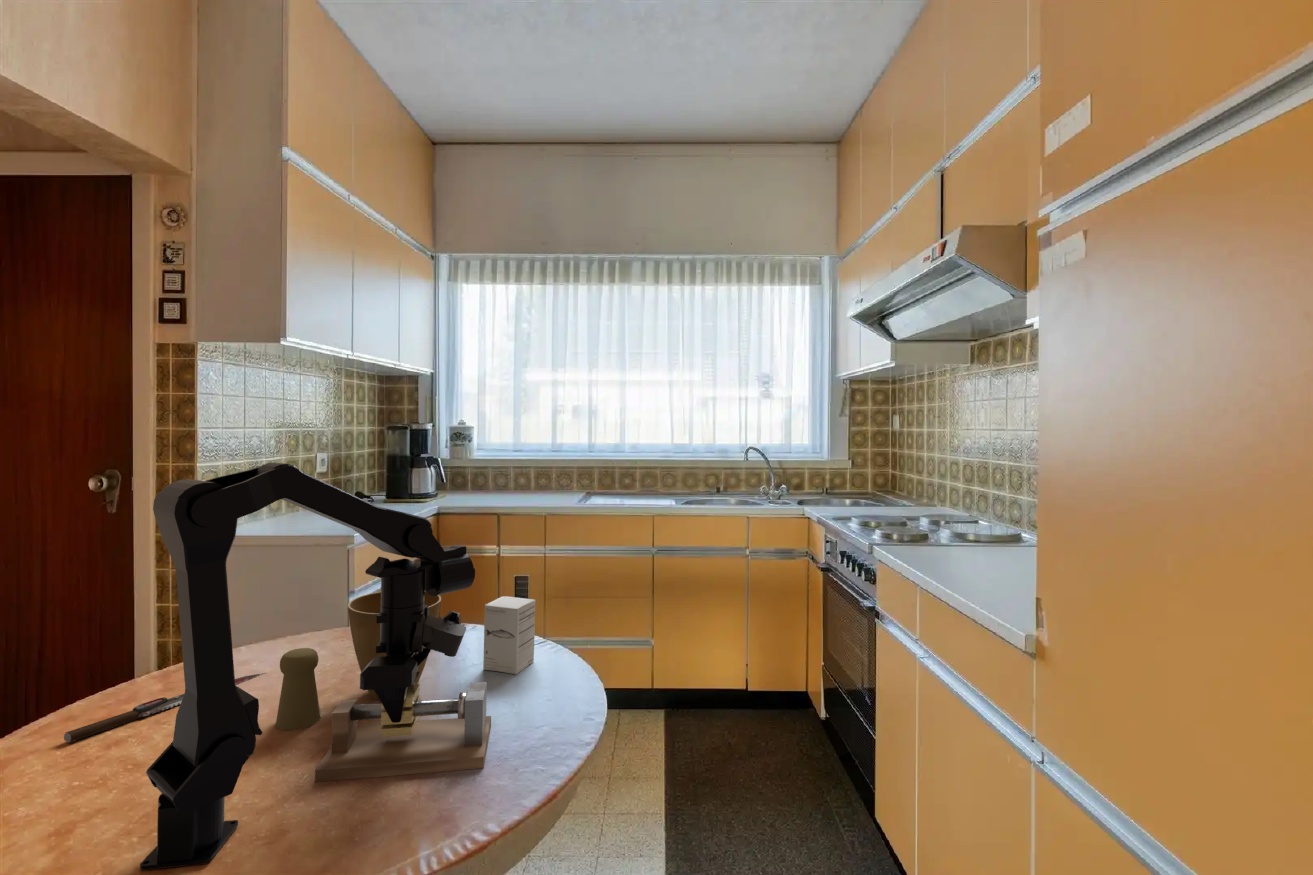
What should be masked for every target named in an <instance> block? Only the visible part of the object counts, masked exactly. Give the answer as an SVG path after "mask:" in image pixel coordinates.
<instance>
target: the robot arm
mask: <svg viewBox="0 0 1313 875" xmlns="http://www.w3.org/2000/svg"><path fill="white" fill-rule="evenodd" d="M280 500H281V501H282V500H283V501H284V502H286V503H290V504H291V505H294V506H297V507H299V508H301V509H304V510H305V511H309V512H311V513H313V514H316V515H319V516H320V517H323V518H325V519H328V520H331V521H333V522H336V523H337V524H340V525H342V526H345V527H347V528H350V529H352V530H353V531H355V532H356V533H358V534H359V535H360V536H361V537H362V538H363V539H364V540H365V541H367V542H368V543H369V544H371V545H373V546H374V547H375V548H377V549H379V550H380V551H381V552H386V553H389V554H393V555H397V556H402V557H405V558H400V559H399V558H398V559H393V560H390V559H389V558H388V557H383V556H378V557H377V558H376V560H375V561H374V562H373V563H371V565H370V566H368V567H367V568H366V569H365V571H364V573H365V575H369V576H372V577H375V578H380V592H381V612H380V613H379V614H378V615H377V622H376V623H380V642H379V643H378V644H377V645H376V653H386V656H385V657H375V658H374V659H373V660H372V661H371V662H370V663H368V665H367V666H366V667H365V669H364V670H363V671H362V672H361V671H360V674H359V689H360V690H362V691H368V690H374V691H375V693H376V694H377V696H378V697H379V699H380V700H379V701H380V703H382V705H383V706H384V708H385V710H386V712H387V714H388V716H389V718H390V720H391V721H392V722H393V723H398V722H400V721H401V718H402V713H403V708H404V703H405V698H406V693H407V688H408V687H409V686H412V684H414V683H415V680H416V678H417V676H418V674H419V672H417V671H418V667H419V665H420V664H421V663H422V662H423V661H424V660H425V659H426V658H427V659H428V657H429V655H430V652H431V651H435V652H438V653H442V654H444V656H447V657H449V658H454V657H456V656H457V654H458V651H459V649H460V646H461V644H462V641H463V638H464V636H465V633H466V631H467V627H466V624H465V623H462V621H461V620H462V618H461V612H457V611H454V610H450V611H449V612H448V613H446V615H444V616H443V617H442V616H440V615H438V618H436V617H432V616H429V607H427V605H424V600H425V591H426V592H427V593H428V594H429V595H431V596H437V595H439V596H441V595H445V594H448V593H449V594H450V593H453V592H458V591H461V590H467V589H468V588H471V586H472V585H473V584H474V582H475V581H474V580H475V578H476V568H475V567H474V564H473V561H472V559H471V557H470V556H469V554H468V553H467V546H465V545H461V544H454V545H451V546H449V547H444V548H443V547H442V546H441V543H440V542H439V541H438V540H437V538H436V537H435V535H434V534H433V533H434V532H433V528H432V523H431V521H430V520H428V519H427V518H425V517H423V516H419V515H416V514H411V513H407V512H403V511H399V510H394V509H391V508H385V507H381V506H378V505H375V504H373V503H372V502H369V501H367V500H365V499H362V498H360V497H358V496H356V495H353V494H352V493H349V492H347V491H345V490H343V489H341V488H339V487H337V486H335V485H333V484H330V483H328V482H326V481H323V480H321V479H319V478H317V477H314V476H313V475H310V474H308V473H306V472H304V471H302V470H301V469H299V467H297V466H296V465H293V464H289V463H284V462H282V463H281V462H267V463H265V464H262V465H261V466H257V467H253V468H251V469H247V470H242V471H238V472H233V473H230V474H225V475H221V476H217V477H213V478H210V479H207V480H199V479H186V478H185V479H184V478H183V479H181V480H180V479H179V480H175V481H173V482H171V483H170V484H167V485H165V486H164V488H162V489H161V490H160V491H159V493H157V494H156V495H155V497H154V500H153V507H152V511H153V515H154V518H155V521H156V524H157V528H158V531H159V533H160V536H161V539H162V542H163V544H164V545H165V548H166V550H167V551H168V554H169V556H170V558H171V559H172V562H173V564H174V568H175V577H176V591H177V603H178V613H179V614H178V616H179V625H180V629H179V630H180V640H181V653H182V664H183V679H184V693H183V694H184V697H183V699H182V702H181V704H179V708H178V710H177V713H176V717H175V724H174V731H173V738H172V741H171V742H170V743H169V744H168V746H167V747H166V748H165V749H164V750H163V751H162V753H160V755H159V756H158V757H157V758H156V759H155V760H154V762H152V763H151V765H150V766H149V767H148V768H147V769H146V772H145V773H146V775H147V778H148V779H149V781H150V783H151V784H152V786H153V787H154V788H156V789H157V790H158V791H159V792H160V795H159V797H158V802H157V826H156V827H157V830H156V831H157V833H156V834H157V835H156V838H157V842H156V846H155V847H154V848H153V849H152V851H150V853H149V854H148V855H146V857H145V858H144V859H143V860H142V861H141V862H140V863H139V870H141V871H146V870H155V869H156V870H157V869H165V868H173V867H174V868H176V867H184V866H194V865H204V864H207V863H209V862H211V861H212V860H213V859H214V858H215V856H216V855H217V853H218V852H219V850H221V848H222V847H223V845H225V843H226V842H227V840H228V839H229V838H230V837H231V836H232V834H233V833H234V832H235V830H236V829H237V828H238V826H239V820H238V819H233V820H231V819H230V820H225V803H226V802H225V799H226V798H225V797H227V796H231V795H233V792H234V790H235V787H236V786H237V782H238V779H239V777H240V774H241V772H242V769H243V766H244V764H246V762H247V760H249V758H250V757H251V756H252V755H253V754H254V753H255V751H256V750H255V749H256V744H257V737H256V736H261V735H263V734H264V732H263V730H262V729H261V728H260V725H259V709H260V704H259V699H258V698H257V697H255V696H253V695H252V694H250V693H249V692H247V691H246V690H244V689H243V688H242V687H241V688H240V687H239V686H238V685H235V679H236V678H235V666H234V663H235V662H234V653H233V652H234V651H233V640H232V639H233V638H232V627H231V625H232V624H231V614H230V613H231V612H230V602H229V601H230V599H229V598H230V597H229V586H228V585H229V584H228V575H227V574H228V573H227V560H228V557H229V555H230V551H231V549H232V547H233V543H234V541H235V539H236V535H237V529H238V528H237V526H238V520H239V519H240V518H243V517H245V516H249V515H251V514H254V513H256V512H258V511H261V510H262V509H264V508H266V507H268V506H270V505H272V504H273V503H276V502H277V501H280ZM409 558H411V559H414V558H415V559H420V561H416V562H415V561H414V562H413V561H412V560H410V559H409ZM423 646H424V647H425V648H423Z"/></svg>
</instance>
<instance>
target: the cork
mask: <svg viewBox="0 0 1313 875" xmlns="http://www.w3.org/2000/svg"><path fill="white" fill-rule="evenodd" d="M318 663H319V655H318V652H317V651H316V649H314V648H309V647H301V648H295V649H291V650H288V651H286V652H284V653H283V655H282V656H281V658H280V661H279V669H280V672H281V673H282V674H283V678H282V684H281V690H280V695H279V702H278V709H277V713H276V714H277V715H276V720H275V728H276V729H277V730H281V731H296V730H301V729H305V728H307V727H308V728H309V727H311V726H314V723H315V724H316V723H317V722H319V721H320V720H321V711H320V703H319V696H318V688H317V681H316V674H315V669H316V668H317V666H318Z"/></svg>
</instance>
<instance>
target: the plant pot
mask: <svg viewBox="0 0 1313 875" xmlns="http://www.w3.org/2000/svg"><path fill="white" fill-rule="evenodd" d="M441 602H442V597H441V595H437V596H431V595H429V594H428V593H427V592H426V591H425V600H424V605H427V607H429V616H432V617H436V618H438V617H439V612H440V607H441ZM380 612H381V591H377V592H371V593H366V594H363V595H359V596H358V597H355V598H353V599H351V600H350V601H349V602H348V603H347V613H348V619H349V628H350V632H351V637H352V638H351V639H352V644H353V650H354V651H355V656H356V660H357V663H358V666H359V667H358V668H359V670H360V673H361V672H362V671H363V670H364V669H365V667H366V666H367V665H368V663H370V662H371V661H372V660H373V659H374V658H375V657H385V656H386V653H376V645H377V644H378V643H379V642H380V623H376V622H377V615H378V614H379V613H380ZM423 648H425V647H424V646H423ZM427 659H428V657H427V658H426V659H425V660H424V661H423V662H422V663H421V664H420V665H419V667H418V671H417V672H419V674H418V676H417V678H416V680H415V683H414V684H419V682H420V680H421V676H422V674H423V672H424V670H425V666H426V663H427ZM367 692H368V694H369V697H371V698H372V699H374V700H379V701H380V699H379V697H378V696H377V694H376V693H375V691H374V690H367Z"/></svg>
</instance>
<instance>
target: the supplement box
mask: <svg viewBox="0 0 1313 875" xmlns="http://www.w3.org/2000/svg"><path fill="white" fill-rule="evenodd" d="M536 602H537V601H536V599H532V598H522V597H517V596H516V597H515V596H507V595H506V596H505V595H502V596H500V597H498V598H496V599H494V600H493V601H490V602H488V603H485V604H484V623H483V624H484V625H483V627H484V628H483V629H484V630H483V634H484V636H483V667H482V669H483V670H484V671H494V672H500V673H506V674H507V673H508V674H512V675H518V674H519V673H520V672H522V671H524V670H525V669H526V668H528V666H530V665H531V664H533V662H534V660H535V658H534V657H535V632H536V631H535V628H536V626H535V625H536V624H535V622H536ZM529 664H530V665H529Z"/></svg>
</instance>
